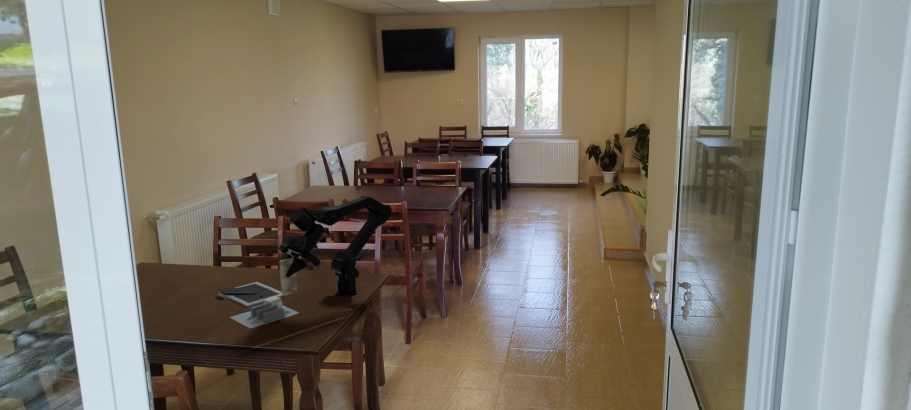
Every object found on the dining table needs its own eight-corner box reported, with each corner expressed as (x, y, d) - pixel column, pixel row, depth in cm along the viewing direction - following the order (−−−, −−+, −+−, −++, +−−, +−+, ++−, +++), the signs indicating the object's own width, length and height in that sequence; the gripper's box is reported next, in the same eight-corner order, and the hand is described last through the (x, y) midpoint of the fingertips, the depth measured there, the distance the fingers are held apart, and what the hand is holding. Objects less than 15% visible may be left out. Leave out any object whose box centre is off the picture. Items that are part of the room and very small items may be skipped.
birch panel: (294, 290, 211) (292, 257, 209) (297, 292, 210) (295, 258, 208) (281, 294, 208) (279, 260, 205) (284, 295, 206) (282, 261, 204)
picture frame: (218, 297, 224) (247, 310, 211) (218, 290, 224) (246, 303, 210) (257, 286, 236) (286, 299, 222) (256, 279, 235) (286, 291, 222)
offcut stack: (276, 303, 214) (275, 295, 213) (282, 306, 211) (282, 298, 210) (262, 307, 210) (262, 299, 209) (269, 310, 207) (268, 302, 207)
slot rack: (278, 305, 214) (277, 295, 213) (299, 315, 205) (298, 304, 204) (229, 319, 201) (228, 308, 201) (250, 330, 192) (249, 319, 191)
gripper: (281, 221, 213) (254, 258, 208) (310, 230, 201) (283, 269, 195) (301, 239, 220) (276, 274, 215) (331, 248, 208) (305, 286, 202)
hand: (284, 276), depth 207 cm, fingers closed on birch panel, 2 cm apart
